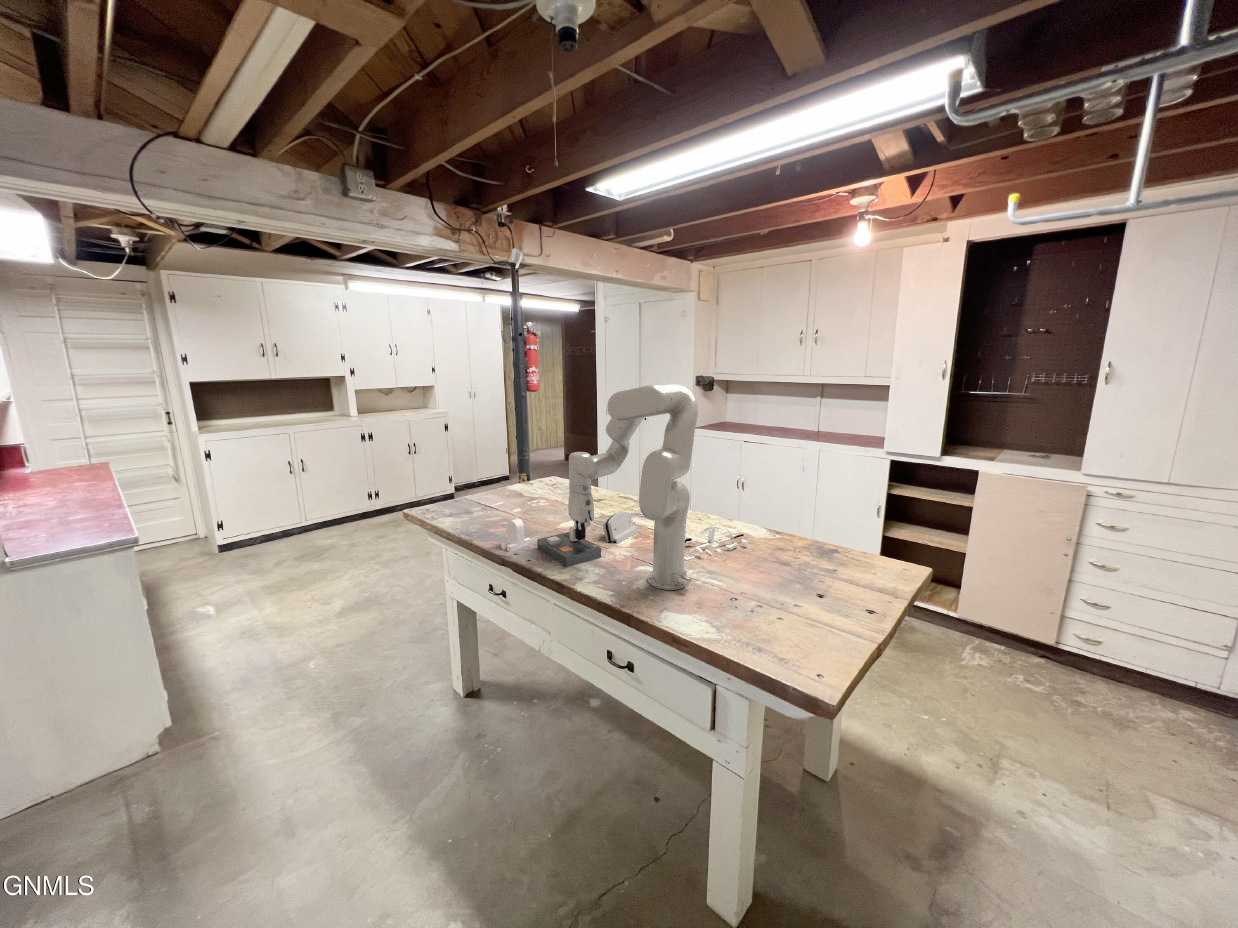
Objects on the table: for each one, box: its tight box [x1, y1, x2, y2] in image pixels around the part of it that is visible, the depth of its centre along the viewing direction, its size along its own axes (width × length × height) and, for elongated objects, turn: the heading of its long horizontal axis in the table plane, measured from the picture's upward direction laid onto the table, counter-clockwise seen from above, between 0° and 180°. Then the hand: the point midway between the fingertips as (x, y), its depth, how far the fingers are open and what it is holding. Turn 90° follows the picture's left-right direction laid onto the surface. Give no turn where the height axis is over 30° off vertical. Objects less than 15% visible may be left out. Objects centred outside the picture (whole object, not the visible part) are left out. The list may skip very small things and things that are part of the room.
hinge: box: [602, 511, 639, 545], centre depth 183 cm, size 17×5×10 cm, turn 149°
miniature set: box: [684, 526, 749, 561], centre depth 171 cm, size 6×35×12 cm
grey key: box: [547, 536, 561, 546], centre depth 167 cm, size 4×4×2 cm
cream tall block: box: [569, 526, 577, 541], centre depth 169 cm, size 2×3×4 cm
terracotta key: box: [559, 546, 573, 553], centre depth 161 cm, size 4×4×2 cm
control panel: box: [536, 531, 602, 568], centre depth 167 cm, size 20×14×4 cm
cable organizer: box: [500, 518, 531, 552], centre depth 172 cm, size 5×10×10 cm, turn 143°
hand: (580, 538), depth 166 cm, fingers closed
